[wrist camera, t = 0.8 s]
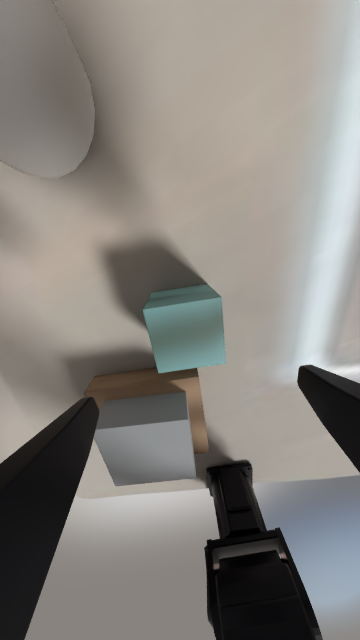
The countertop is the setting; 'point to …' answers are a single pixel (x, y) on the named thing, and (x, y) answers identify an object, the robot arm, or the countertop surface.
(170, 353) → the teal block
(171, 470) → the grey block
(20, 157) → the can
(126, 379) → the walnut slab
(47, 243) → the countertop surface
